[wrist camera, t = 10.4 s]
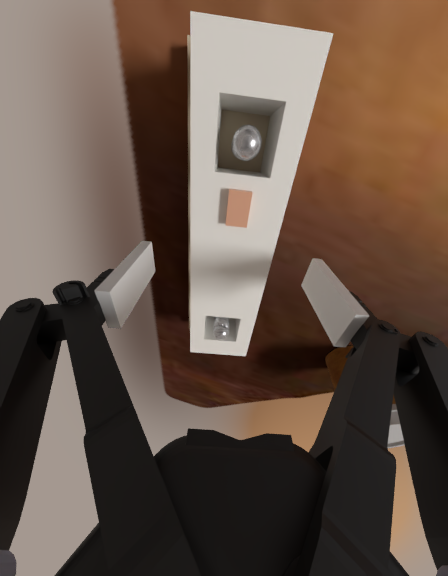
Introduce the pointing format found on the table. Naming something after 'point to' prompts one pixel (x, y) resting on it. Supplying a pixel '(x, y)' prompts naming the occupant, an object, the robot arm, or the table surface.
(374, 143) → the table surface
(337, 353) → the disposable coffee cup
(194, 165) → the power strip
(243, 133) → the chrome knobs
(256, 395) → the table surface
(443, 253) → the table surface
